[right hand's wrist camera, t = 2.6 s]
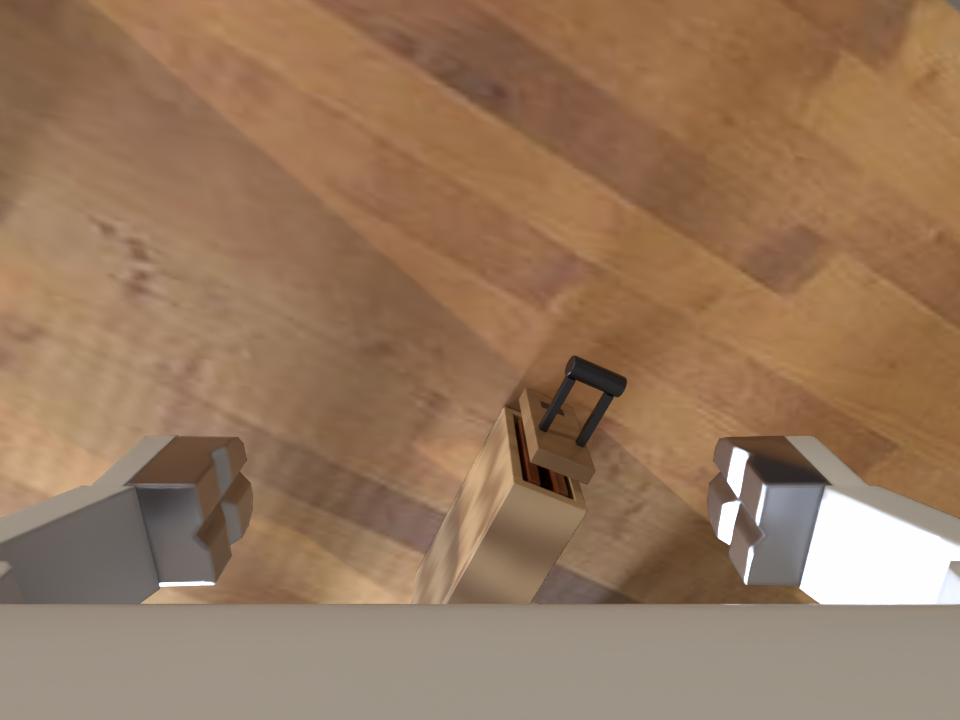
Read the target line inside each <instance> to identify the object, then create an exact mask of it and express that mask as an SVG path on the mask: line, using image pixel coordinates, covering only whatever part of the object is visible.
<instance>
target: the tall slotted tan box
mask: <svg viewBox="0 0 960 720" xmlns="http://www.w3.org/2000/svg"><path fill="white" fill-rule="evenodd" d="M519 418H521V419H522V414H521V413H520V412H518V411H515V410H513V409H511V408H508V407H506V406H504V407H503V409H502V411H501V413H500V415H499V416H498V418H497V420H496V422H495V424H494V426H493V428H492V430H491V432H490V434H489V435H488V437H487V439H486V441H485V443H484V445H483V447H482V449H481V451H480V453H479V455H478V456H477V458H476V460H475V462H474V464H473V466H472V468H471V470H470V472H469V474H468V475H467V477H466V479H465V481H464V483H463V485H462V487H461V489H460V491H459V493H458V494H457V496H456V498H455V500H454V502H453V504H452V506H451V508H450V510H449V512H448V514H447V515H446V517H445V519H444V521H443V523H442V525H441V527H440V529H439V531H438V533H437V534H436V536H435V538H434V540H433V542H432V544H431V546H430V548H429V550H428V552H427V553H426V555H425V557H424V559H423V561H422V563H421V565H420V567H419V569H418V571H417V572H416V574H415V578H414V586H413V595H412V603H411V604H530V603H531V601H532V599H533V598H534V596H535V595H536V593H537V591H538V590H539V588H540V587H541V585H542V583H543V582H544V580H545V579H546V577H547V575H548V574H549V572H550V571H551V569H552V567H553V566H554V564H555V563H556V561H557V559H558V558H559V556H560V555H561V553H562V551H563V550H564V548H565V547H566V545H567V543H568V542H569V540H570V539H571V537H572V535H573V534H574V532H575V531H576V529H577V527H578V526H579V524H580V523H581V521H582V520H583V518H584V516H585V515H586V513H587V507H586V505H585V501H584V498H583V494H582V491H581V488H580V485H579V481H577V480H574V479H572V478H569V477H567V476H564V475H563V477H564V480H565V484H566V488H567V491H568V496H567V497H564V496H562V495H559V494H557V493H554V492H552V491H549V490H546V489H544V488H541V487H539V486H536V485H534V484H531V483H529V482H526V481H523V477H522V471H521V464H520V458H519V451H518V444H517V438H516V431H515V425H516V423H517V421H518V419H519Z"/></svg>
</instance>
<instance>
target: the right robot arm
mask: <svg viewBox="0 0 960 720" xmlns="http://www.w3.org/2000/svg"><path fill="white" fill-rule="evenodd" d="M246 461H247V458H246V453H245V448H244V443H243V442H242V441H241V440H240V439H239V437H208V436H178V435H171V436H148V437H144V438H143V439H142V440H141V441H140V442H139V443H138V444H137V445H135V446H134V447H133V448H132V449H131V450H130V451H129V452H128V453H127V454H126V455H124V456H123V457H122V458H121V459H120V460H119V461H118V462H117V463H116V464H115V465H113V466H112V467H111V468H110V469H109V470H108V471H107V472H106V473H105V474H104V475H102V476H101V477H100V478H99V479H98V480H97V481H96V482H95V483H94V484H93V485H92V486H80V487H77V488H75V489H72V490H70V491H67V492H65V493H62V494H60V495H57V496H55V497H52V498H50V499H47V500H45V501H42V502H40V503H37V504H35V505H32V506H30V507H27V508H25V509H22V510H20V511H17V512H15V513H12V514H10V515H7V516H5V517H2V518H0V720H960V518H957V517H955V516H952V515H950V514H947V513H945V512H943V511H940V510H938V509H935V508H933V507H930V506H928V505H925V504H923V503H920V502H918V501H915V500H913V499H910V498H908V497H905V496H903V495H900V494H898V493H895V492H893V491H890V490H888V489H885V488H883V487H880V486H869V485H867V484H866V483H865V482H864V481H863V480H862V479H861V478H860V477H859V476H858V475H857V474H855V473H854V472H853V471H852V470H851V469H850V468H849V467H848V466H847V465H846V464H844V463H843V462H842V461H841V460H840V459H839V458H838V457H837V456H836V455H835V454H834V453H832V452H831V451H830V450H829V449H828V448H827V447H826V446H825V445H824V444H823V443H822V442H820V441H819V440H818V439H817V438H816V437H813V436H809V435H802V436H755V437H725V438H719V440H718V443H717V445H716V447H715V452H714V457H713V461H714V463H715V464H716V466H717V467H718V469H719V471H720V472H719V473H718V474H717V475H716V477H715V478H714V479H713V480H712V481H711V482H710V483H709V489H708V497H707V505H708V516H709V519H710V522H711V526H712V528H713V530H714V532H715V534H716V535H717V537H718V538H719V539H721V540H722V541H724V542H726V543H727V544H729V545H730V548H729V554H728V556H729V558H730V560H731V561H732V563H733V565H734V566H735V568H736V570H737V572H738V573H739V575H740V577H741V578H742V580H743V582H744V583H745V585H780V586H800V589H801V590H803V591H804V592H805V593H807V594H808V595H809V596H811V597H812V598H813V599H815V600H816V601H817V602H819V603H820V604H140V603H141V602H143V601H144V600H146V599H147V598H148V597H150V596H151V595H152V594H154V593H155V592H156V591H158V590H159V589H160V586H180V585H215V584H216V582H217V580H218V578H219V577H220V575H221V573H222V572H223V570H224V568H225V567H226V565H227V563H228V561H229V560H230V558H231V556H232V554H231V548H230V545H231V544H233V543H234V542H236V541H238V540H239V539H241V538H242V537H243V535H244V534H245V532H246V530H247V528H248V526H249V522H250V518H251V514H252V510H253V495H252V488H251V483H250V482H249V481H248V480H247V479H246V478H245V477H244V475H243V474H242V473H241V472H240V471H241V469H242V467H243V466H244V464H245V463H246Z"/></svg>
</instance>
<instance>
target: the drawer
mask: <svg viewBox="0 0 960 720" xmlns="http://www.w3.org/2000/svg"><path fill="white" fill-rule="evenodd" d="M565 375H566V377H565V379H564V380H563V382H562V384H561V386H560V388H559V389H558V391H557V393H556V395H555V397H554V398H553V399H552V398H550V397H547V396H545V395H542V394H540V393H538V392H535V391H533V390H531V389H528V388H526V387H525V389H524V391H523V393H522V394H521V396H520V398H519V403H520V409H521V414H522V419H521V418H519V419H518V421H517V423H516V425H515V431H516V438H517V444H518V451H519V458H520V464H521V471H522V477H523V481H526V482H529V483H531V484H534V485H536V486H539V487H541V488H544V489H546V490H549V491H552V492H554V493H557V494H559V495H562V496H564V497H567V496H568V491H567V488H566V484H565V480H564V477H563V475H564V476H567V477H569V478H572V479H574V480H577V481H579V482H582V483H584V484H588V482H589V481H590V479H591V477H592V476H593V474H594V473H595V471H596V470H595V468H594V465H593V462H592V459H591V457H590V454H589V451H588V449H587V446H586V443H587V441H588V440H589V438H590V436H591V435H592V433H593V431H594V430H595V428H596V426H597V425H598V423H599V421H600V420H601V418H602V416H603V415H604V413H605V411H606V409H607V408H608V406H609V404H610V403H611V401H612V399H613V398H614V397H613V396H615V397H619V396H621V394H622V393H623V392H624V390H625V387H626V384H627V379H626V378H625V377H623V376H621V375H619V374H617V373H614V372H612V371H610V370H607V369H605V368H603V367H601V366H598V365H596V364H594V363H591V362H589V361H587V360H585V359H582V358H580V357H578V356H575V355H574V356H572V357H571V358H570V360H569V361H568V363H567V366H566V369H565ZM575 380H577V381H580V382H582V383H584V384H587V385H589V386H591V387H594V388H596V389H598V390H601V391H603V392H604V393H603V395H602V396H601V398H600V400H599V401H598V403H597V405H596V406H595V408H594V410H593V412H592V413H591V415H590V417H589V418H588V420H587V422H586V424H585V425H584V427H583V429H582V430H581V429H580V427H579V424H578V421H577V419H576V416H575V413H574V410H573V408H572V407H571V406H569V405H566V404H564V403H563V402H564V401H565V399H566V397H567V395H568V394H569V392H570V390H571V388H572V386H573V385H574V383H575Z"/></svg>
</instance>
